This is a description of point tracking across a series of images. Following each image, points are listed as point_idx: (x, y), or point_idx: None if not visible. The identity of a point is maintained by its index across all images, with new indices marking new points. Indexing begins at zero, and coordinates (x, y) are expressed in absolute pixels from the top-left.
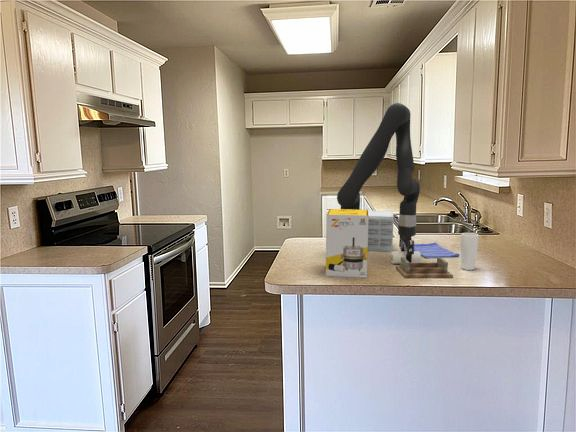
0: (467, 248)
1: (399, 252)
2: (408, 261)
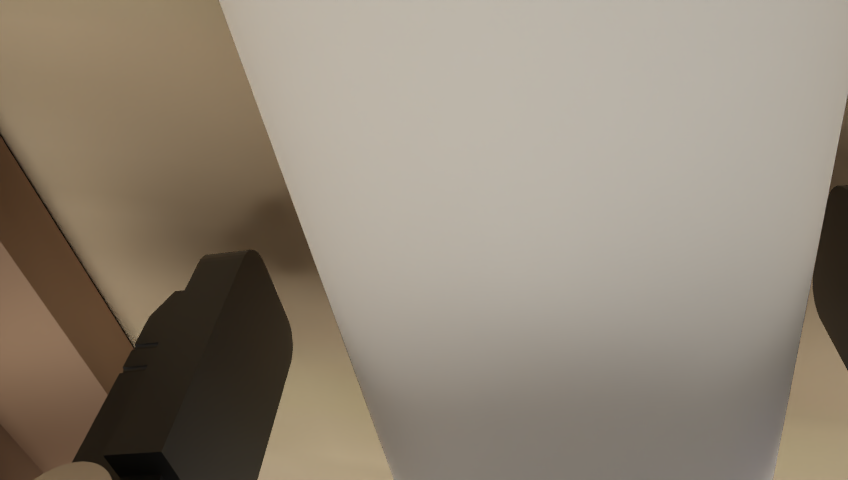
0: None
1: (430, 279)
2: None
